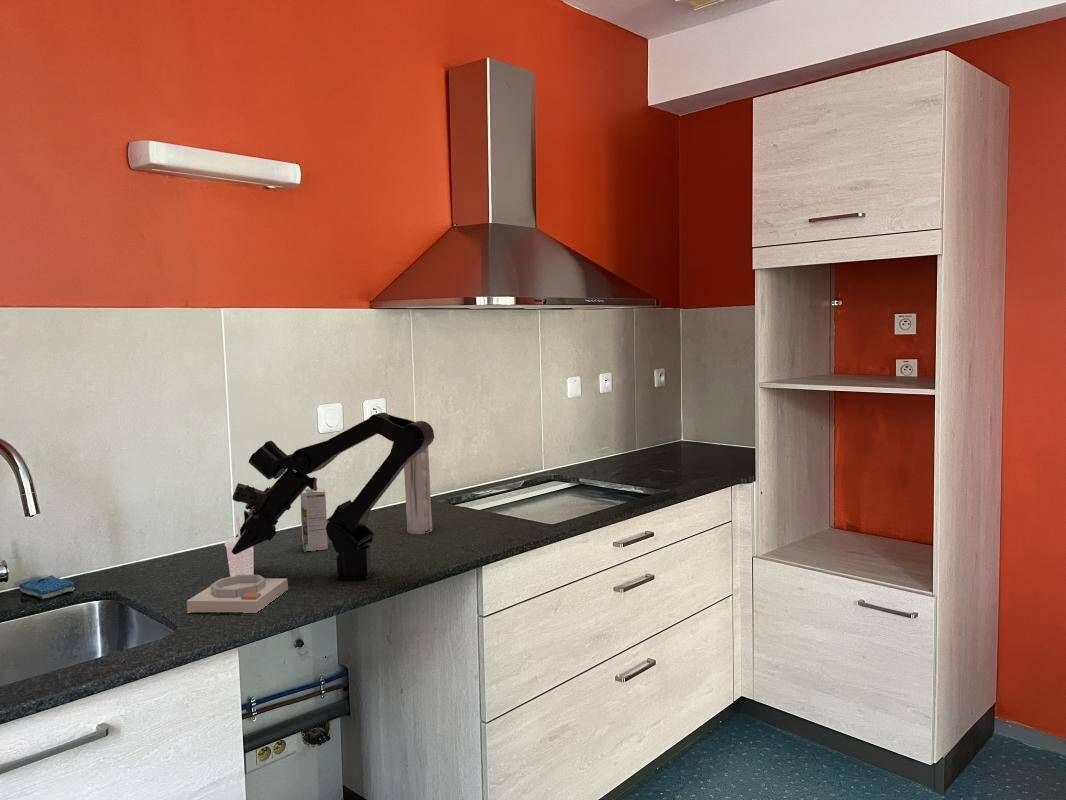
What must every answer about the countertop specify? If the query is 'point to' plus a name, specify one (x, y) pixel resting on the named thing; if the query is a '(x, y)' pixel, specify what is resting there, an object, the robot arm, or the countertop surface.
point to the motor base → (236, 602)
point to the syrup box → (314, 520)
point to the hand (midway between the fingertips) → (233, 549)
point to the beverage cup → (239, 557)
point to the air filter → (418, 494)
